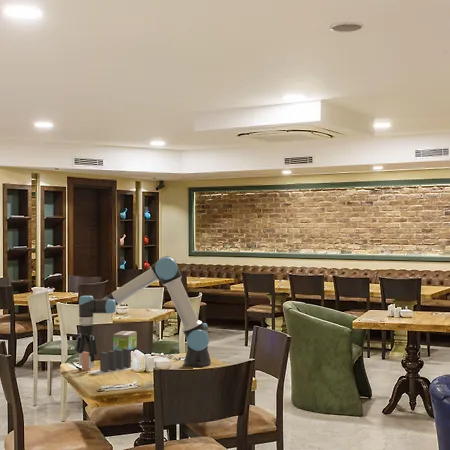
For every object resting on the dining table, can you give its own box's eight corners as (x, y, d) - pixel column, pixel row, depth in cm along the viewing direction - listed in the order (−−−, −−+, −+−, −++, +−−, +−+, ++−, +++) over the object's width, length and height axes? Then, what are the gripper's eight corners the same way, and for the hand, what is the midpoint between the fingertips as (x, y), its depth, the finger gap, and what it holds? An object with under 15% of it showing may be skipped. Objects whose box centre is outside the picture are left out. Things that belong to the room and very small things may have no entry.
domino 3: (115, 370, 374) (115, 351, 374) (113, 370, 373) (113, 352, 373) (110, 368, 378) (110, 350, 378) (107, 369, 377) (107, 350, 377)
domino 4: (123, 368, 378) (123, 350, 378) (120, 369, 377) (120, 350, 377) (117, 367, 381) (117, 349, 381) (115, 368, 380) (115, 349, 380)
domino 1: (90, 371, 374) (90, 352, 374) (87, 371, 373) (87, 353, 373) (85, 369, 378) (84, 351, 378) (82, 370, 377) (82, 351, 377)
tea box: (128, 360, 406) (128, 334, 406) (112, 359, 408) (112, 334, 408) (137, 355, 420) (137, 330, 420) (121, 354, 422) (121, 330, 422)
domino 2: (108, 371, 371) (108, 352, 371) (105, 372, 370) (105, 353, 370) (102, 370, 374) (102, 351, 374) (100, 370, 373) (100, 352, 373)
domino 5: (130, 367, 381) (130, 349, 381) (128, 367, 380) (128, 349, 380) (125, 366, 385) (125, 348, 385) (122, 366, 384) (122, 348, 384)
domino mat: (136, 369, 380) (136, 368, 380) (99, 375, 363) (99, 374, 363) (123, 365, 388) (123, 365, 388) (86, 372, 371) (86, 371, 371)
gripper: (69, 323, 381) (69, 364, 381) (91, 327, 365) (92, 370, 365) (80, 321, 386) (81, 362, 386) (103, 325, 371) (103, 368, 371)
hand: (86, 366), depth 376 cm, fingers open, 9 cm apart
